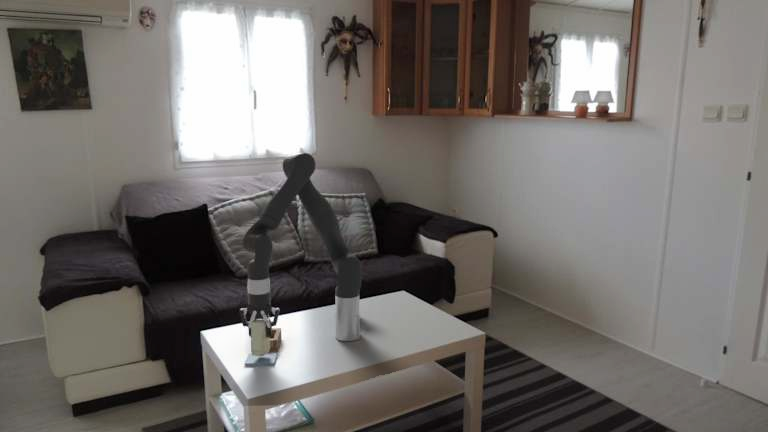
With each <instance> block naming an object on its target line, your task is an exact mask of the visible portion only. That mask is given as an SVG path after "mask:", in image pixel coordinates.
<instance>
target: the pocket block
mask: <svg viewBox="0 0 768 432" xmlns="http://www.w3.org/2000/svg"><path fill="white" fill-rule="evenodd" d="M281 341H282V328H281V327H274V328H272V334H271V336H270V350H269V351H268V352H267V353H278V352H279V349H280V345H281ZM250 349H251V350H250V351H251V352H250V353H252V341H251V340H250Z"/></svg>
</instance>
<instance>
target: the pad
mask: <svg viewBox="0 0 768 432" xmlns="http://www.w3.org/2000/svg"><path fill="white" fill-rule="evenodd" d="M277 357H278V352H267V353H266V354H265V355H264V356H253V355H252V353H247V357H246V360H245V362H244V367H273V366H275V364H276V361H277Z"/></svg>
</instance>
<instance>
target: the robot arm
mask: <svg viewBox="0 0 768 432" xmlns="http://www.w3.org/2000/svg"><path fill="white" fill-rule="evenodd" d="M282 170H283V173H284V176H285V177H286V179H285V182H284V183H283V185H282V186H281V187H280V188H279V189H278V191H277V192H276V193H275V194H274V195H273V196H272V197H271V198H270V199H269V201H268V203H267V204H266V205H265V207H264V209H263V211H262V212H261V214H260V216H259V218H258V219H257V220H256V221H255V222H254V223H253V225H251V226H250V228H249V229H248V230H247V231H246V233H245V234H244V236H243V237H242V248H243V250H244V251H246V252H248V253H251V254H254V259H251V260H250V261H249V262H248V263H247V288H246V289H247V307H241V308H240V309H239V311H238V313H239V316H240V321H241V323H242V326H243V327H247V329H248V336H249V337H251V322H254V319H264V321H265V322H266V325H267V338H269V337H270V336H271V334H272V327H276V325H277V323H278V319H279V315H280V311H281V309H280V307H273V306H272V305H271V303H272V302H271V282H270V269H269V268H270V267H269V266H270V261H271V259H272V253H273V248H274V247H273V241H272V238H271V237H270V236H269V235H268V233H270V232H275V231H277V229H278V228H279V226H280V225H281V222H282V221H283V219H284V217H285V215H286V213H287V211H288V210H289V208H290V206H291V204H292V203H293V201H295V198H296V197H297V196H298V198H299V200H300V202H301V204H302V207H303V208H304V210H305V212H306V214H307V216H308V219H309V221H310V223H311V224H312V227H313V228H314V230H315V232H316V234H317V235H318V237H319V239H320V240H321V241H322V243H323V245H324V247H325V249H326V251H327V253H328V256H329V259H330V262H331V264H332V267H333V270H334V271H335V273H336V274H337V286H336V287H335V289H334V293H335V294H334V295H335V297H334V299H335V303H334V304H335V309H334V310H335V314H334V315H335V316H334V317H335V331H334V332H335V339H337V340H338V341H341V342H352V341H353V342H354V341H359V340H360V290H361V288H362V273H363V272H362V270H363V269H362V263H361V260H360V259H359V258H358V257H357V256H355V255H354V254H353V253H352V252H351V251H350V249H349V248H348V246H347V244H346V243H345V241H344V239H343V235H342V233H341V227H340V223H339V220H338V217H337V214H336V212H335V211H334V209H333V207H332V205H331V203H330V202H329V200H327V198H326V197H325V196H324V195H323V194H322V193H321V192H320V191H318V189H317V188H316V186H314V184H313V182H312V180H311V177H312V175H313V174H314V172H315V171H316V159H314V156H312V154H310V153H307V152H299V153H292V154H289V155H287V156H285V157H284V159H283V161H282ZM271 312H272V314H273V315H274V316H273V321H271V318H270V313H271ZM247 313H249V315H250V320H249V321H248V319H247Z"/></svg>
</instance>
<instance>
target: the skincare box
mask: <svg viewBox="0 0 768 432" xmlns="http://www.w3.org/2000/svg"><path fill="white" fill-rule="evenodd" d="M251 341H252V352H251V354H252V355H253V356H264V355H265V354H266V353H269V352H268V351H269V350H270V337H269V338H267V325H266V322H265V321H264V319H254V322H251V336H250V342H251Z"/></svg>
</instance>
